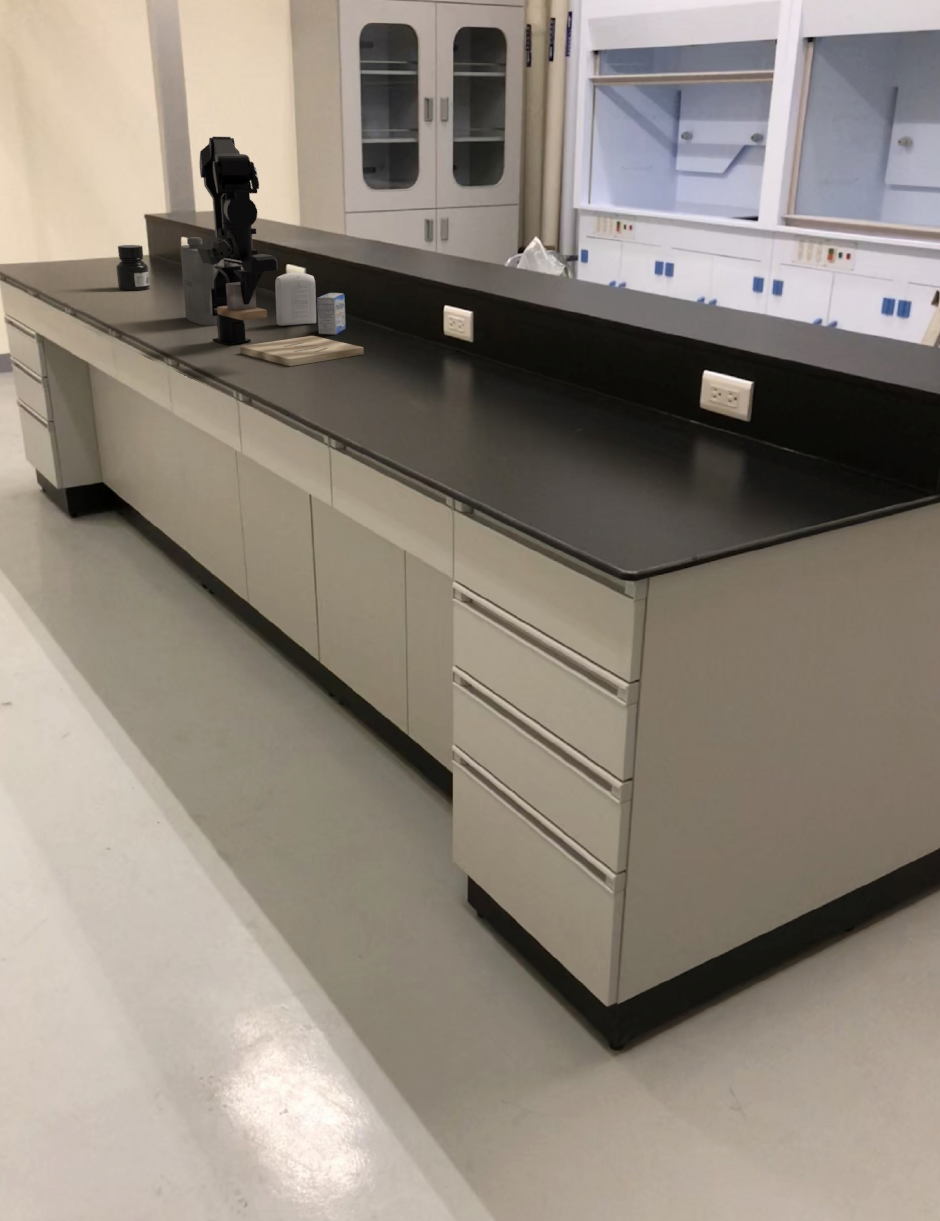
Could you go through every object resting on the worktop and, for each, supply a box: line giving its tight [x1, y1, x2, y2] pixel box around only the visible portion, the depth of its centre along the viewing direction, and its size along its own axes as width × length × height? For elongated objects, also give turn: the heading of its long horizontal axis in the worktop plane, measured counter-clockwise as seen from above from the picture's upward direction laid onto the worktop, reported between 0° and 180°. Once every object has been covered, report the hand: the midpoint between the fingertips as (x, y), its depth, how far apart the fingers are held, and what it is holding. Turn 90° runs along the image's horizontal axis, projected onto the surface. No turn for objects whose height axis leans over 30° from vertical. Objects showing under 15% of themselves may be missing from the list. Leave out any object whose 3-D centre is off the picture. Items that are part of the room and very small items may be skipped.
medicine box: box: [316, 292, 346, 336], centre depth 267 cm, size 8×4×9 cm, turn 168°
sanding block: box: [217, 282, 268, 321], centre depth 228 cm, size 9×6×6 cm, turn 45°
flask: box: [179, 236, 217, 327], centre depth 275 cm, size 15×6×20 cm, turn 32°
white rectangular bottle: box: [274, 272, 317, 326], centre depth 275 cm, size 10×4×12 cm, turn 123°
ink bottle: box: [115, 244, 151, 291], centre depth 324 cm, size 10×9×12 cm
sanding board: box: [239, 335, 365, 367], centre depth 243 cm, size 18×20×2 cm
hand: (241, 302), depth 228 cm, fingers closed on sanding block, 3 cm apart
